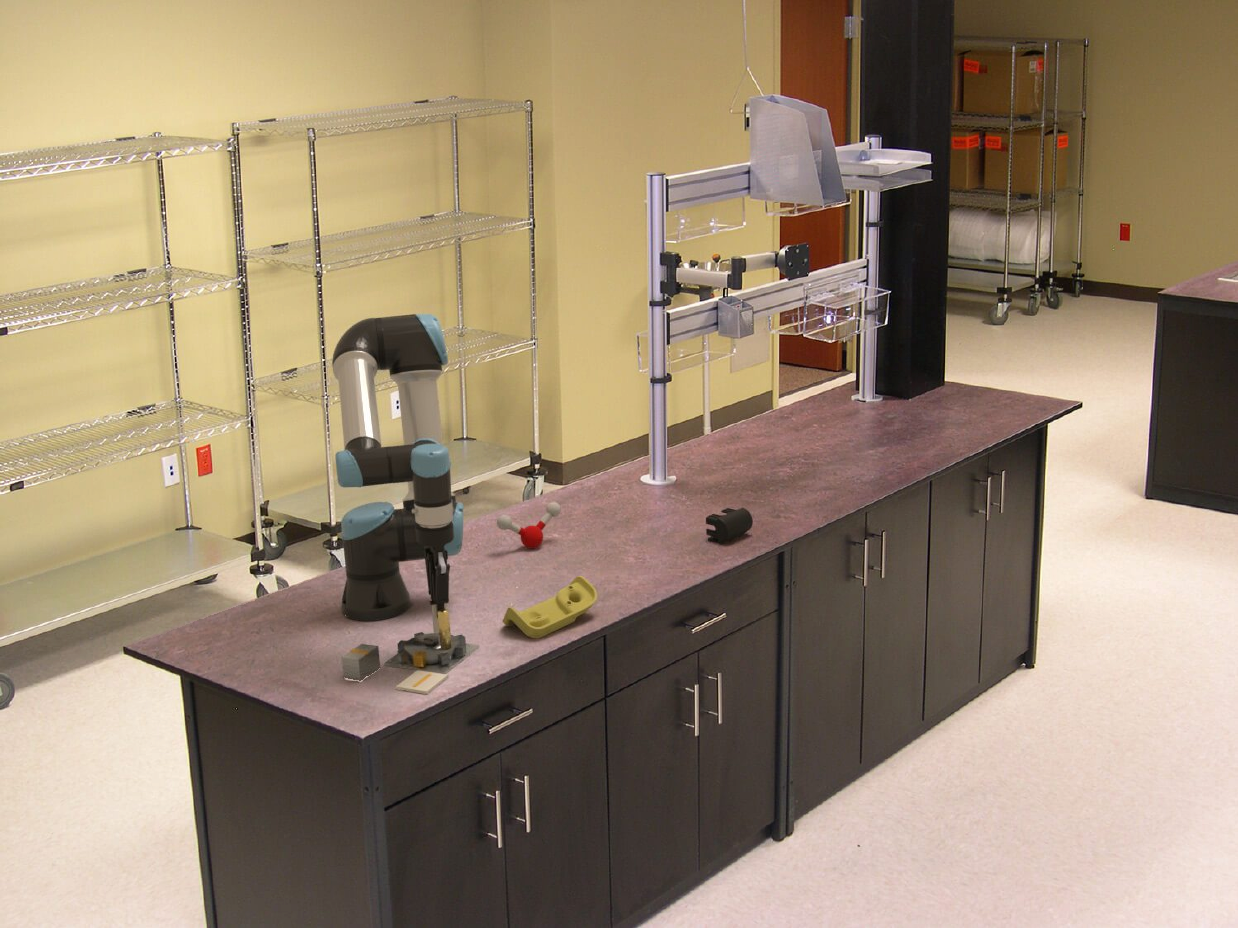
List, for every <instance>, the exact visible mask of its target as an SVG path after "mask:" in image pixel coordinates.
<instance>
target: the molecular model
mask: <svg viewBox="0 0 1238 928" xmlns="http://www.w3.org/2000/svg"><path fill="white" fill-rule="evenodd" d="M545 507H546V508H545V514H544V515H543V516H542V518H541V519H540V520H539V521H538V523H536V525H528V526H526V527H522V526H520V525H518V524H517V523H515V522H513V520H512V518H511V517H510V516H509V515H508V514H501V515H499V517H498V518H497V520H496V525H497V527H498V529H500V530H502V531H507V530H509V531H511V532H514V533H516V534H518V535H519V536H520V541H521V543H522V544H523V546H524V547H525V548H527V549H535V548H538V547H540V546H541V545H542V543H543V541H544V534H543V530H544V528H545V527H546V525H547V524H548V523H549V522H550V521H551V519H552V518H555V517H557V516H559V515H560V514H561V511H562V509H561V508H562V507H561V505H560V504H559V503H558V502H556V501H551V502H549V503H548V504H547V506H545Z"/></svg>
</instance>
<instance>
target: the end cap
mask: <svg viewBox="0 0 1238 928" xmlns="http://www.w3.org/2000/svg"><path fill="white" fill-rule="evenodd" d="M720 513H722V514H716V513H712V514H709V515H707V516H706V518H705V524H706V525H708V526H712V527H714V528H715V530H714V529H710V528H706V529H705V532H706V535H707V536H709V537H707V541H708V542H712V543H716V544H719V545H721V544H723V543H727V542H728V541H731V540H733V539H735V538H737V537H740V536H743V535H745V534H746V533H747V532H748V531H750V530H751V529H752V527H753V524H754V523H753V521H754V519H753V517H752V514H751V512H750V511H749V510H748V509H747V508H745V507H741V508H738V509H734V508H730V507H727V508H724V509H721V510H720Z"/></svg>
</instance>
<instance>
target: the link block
mask: <svg viewBox="0 0 1238 928" xmlns="http://www.w3.org/2000/svg"><path fill="white" fill-rule="evenodd" d="M379 650H380V649H379V645H374V644H372V645H371V644H367V643H361V644H358V645H357V646H355V648H352V649H351V650H349V652H347V653H345V654H344V655H343V656H341V666H342V674H343V678H344V677H345V678H348V679H353V680H359V681H361V680H363V679H364V678H365V677H366V676H369V675H371V674H372V673H374V672H375V671H377V670H378V669H379V668H381V659H380V651H379ZM379 670H380V669H379ZM379 670H378V671H379ZM378 671H377V672H378ZM375 673H376V672H375ZM375 673H374V674H375ZM372 675H373V674H372ZM372 675H371V676H372Z"/></svg>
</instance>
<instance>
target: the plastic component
mask: <svg viewBox="0 0 1238 928" xmlns="http://www.w3.org/2000/svg"><path fill="white" fill-rule="evenodd" d="M597 599H598V592H597V590H596V588H595V586H594V585H593V584H592V583H591V582H590V581H589V580H587V578H585V577H584V576H583V575H578V576H576V577H575V578H573V580H572V581H571V582H570V583H569V584H568V585H567V586H565V587H563V588H561V589H560V590H559V591H558V592H557V593H556V595H555V596H552V597H550V598H548V599H546V600H543V601H542V602H539V603H537V604H534V605H532V606H530V607H529V608H526V609H524V610H522V611H518V610H516V609H515V607H513V606H509V607H507V609H506V611H505V614H504V617H503V619H502V623H503V624H504V625H505V626H506V627H511V626H515V625H516V627H518V628H519V629H520V630H521V632H523V633H524V635H526V636H527V637H529V638H531V639H541V638H542V637H545V636H548V635H549V634H551V633H554V632H555V631H558V630H560V629H562V628H564V627H566V626H568V625H570V624H572V623H574V622H575V621H576V620H577V617H579V616H582V615H583V614H585V613H586V612H588V611H589V610H590V609H591V608H592V606H593V605H594V604H595V603H596V601H597Z"/></svg>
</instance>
